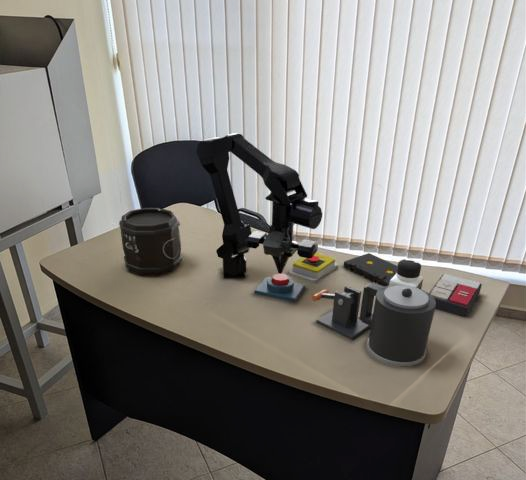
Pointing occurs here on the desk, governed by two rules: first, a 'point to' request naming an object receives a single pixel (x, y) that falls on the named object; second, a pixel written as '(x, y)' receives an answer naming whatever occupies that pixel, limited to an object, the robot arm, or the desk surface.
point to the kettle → (397, 322)
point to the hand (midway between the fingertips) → (280, 272)
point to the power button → (280, 279)
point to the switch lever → (331, 295)
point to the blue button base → (280, 289)
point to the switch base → (344, 315)
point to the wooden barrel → (151, 241)
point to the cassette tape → (372, 268)
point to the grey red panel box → (455, 294)
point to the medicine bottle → (408, 274)
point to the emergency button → (313, 267)
